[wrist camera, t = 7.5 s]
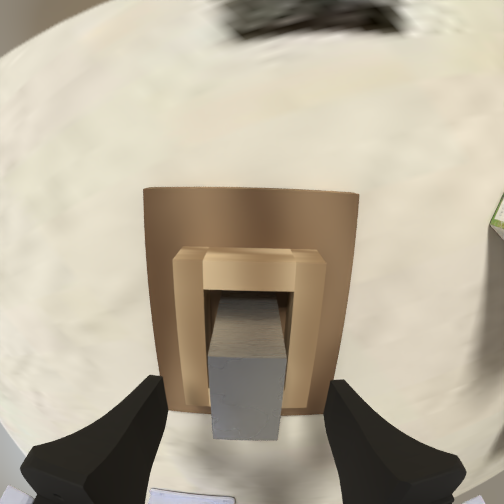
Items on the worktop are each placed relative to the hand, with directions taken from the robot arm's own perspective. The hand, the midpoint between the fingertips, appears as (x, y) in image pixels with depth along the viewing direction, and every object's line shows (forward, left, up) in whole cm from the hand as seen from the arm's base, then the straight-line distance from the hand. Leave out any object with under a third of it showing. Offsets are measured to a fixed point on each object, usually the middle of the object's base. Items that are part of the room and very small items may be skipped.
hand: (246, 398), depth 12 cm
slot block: (0, 0, -8) cm, 8 cm away
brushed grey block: (0, 0, -7) cm, 7 cm away
